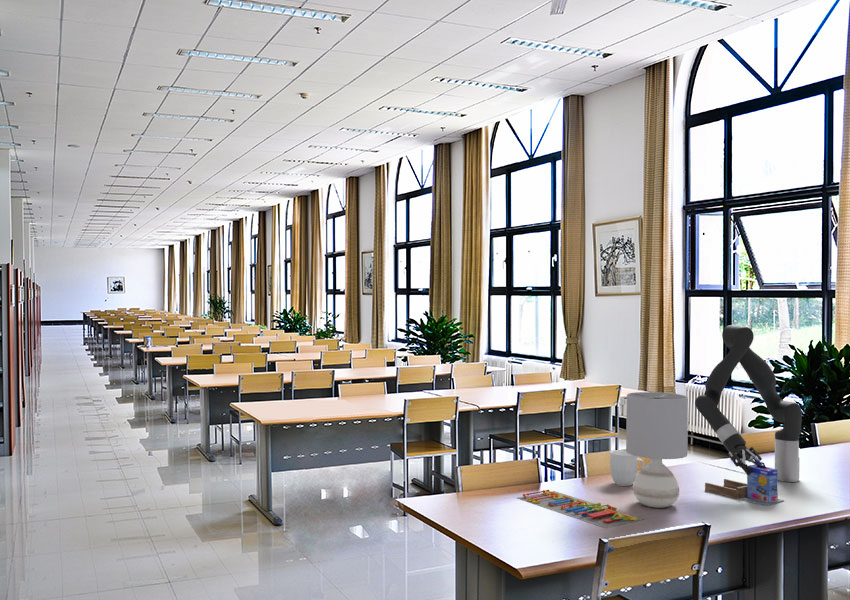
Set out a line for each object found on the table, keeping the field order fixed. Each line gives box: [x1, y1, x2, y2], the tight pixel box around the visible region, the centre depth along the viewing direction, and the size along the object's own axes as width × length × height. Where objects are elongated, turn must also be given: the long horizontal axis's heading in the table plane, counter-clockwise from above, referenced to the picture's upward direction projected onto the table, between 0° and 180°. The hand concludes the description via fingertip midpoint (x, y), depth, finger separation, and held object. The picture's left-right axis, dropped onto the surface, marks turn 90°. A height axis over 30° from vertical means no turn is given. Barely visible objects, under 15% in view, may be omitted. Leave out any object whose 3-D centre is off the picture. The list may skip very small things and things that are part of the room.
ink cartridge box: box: [746, 461, 779, 503], centre depth 290 cm, size 10×6×14 cm, turn 30°
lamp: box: [625, 391, 689, 509], centre depth 282 cm, size 22×22×40 cm
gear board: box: [516, 489, 645, 529], centre depth 277 cm, size 45×2×19 cm
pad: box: [740, 497, 785, 507], centre depth 290 cm, size 12×10×1 cm
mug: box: [609, 449, 646, 487], centre depth 314 cm, size 15×11×13 cm
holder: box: [704, 478, 747, 499], centre depth 302 cm, size 13×15×4 cm
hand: (756, 472), depth 292 cm, fingers open, 8 cm apart
